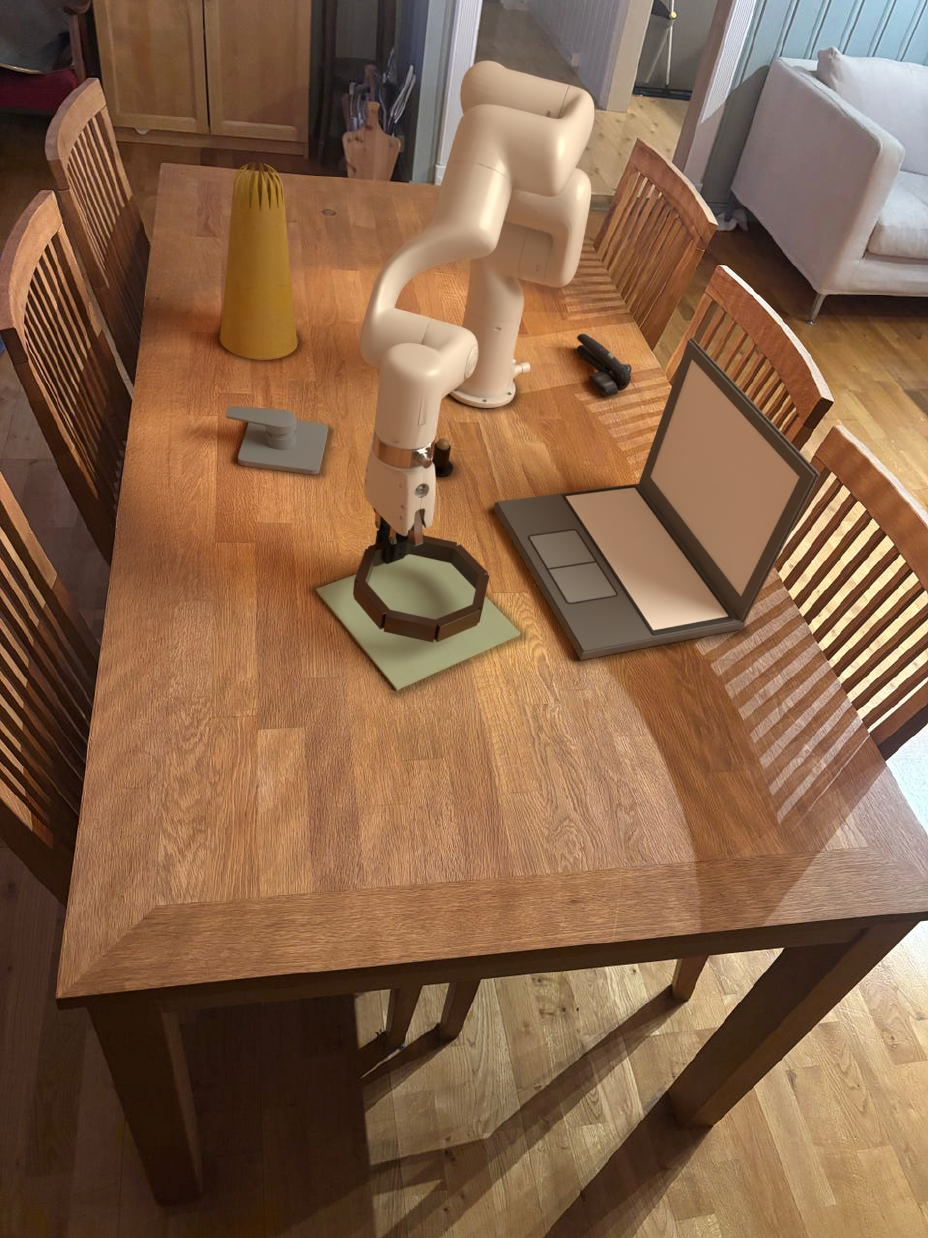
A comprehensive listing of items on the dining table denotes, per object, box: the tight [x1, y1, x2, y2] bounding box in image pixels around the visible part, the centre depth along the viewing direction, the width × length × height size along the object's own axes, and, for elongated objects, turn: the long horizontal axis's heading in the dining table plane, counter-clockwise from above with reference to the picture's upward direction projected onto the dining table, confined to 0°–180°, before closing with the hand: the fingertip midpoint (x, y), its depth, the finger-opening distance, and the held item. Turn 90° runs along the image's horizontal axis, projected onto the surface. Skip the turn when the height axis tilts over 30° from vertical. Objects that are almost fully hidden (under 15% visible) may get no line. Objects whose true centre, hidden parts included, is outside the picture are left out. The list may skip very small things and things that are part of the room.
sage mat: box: [315, 554, 521, 691], centre depth 131 cm, size 20×20×1 cm
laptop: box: [493, 337, 821, 661], centre depth 133 cm, size 32×26×28 cm
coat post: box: [432, 438, 454, 478], centre depth 152 cm, size 4×4×6 cm
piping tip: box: [219, 162, 299, 361], centre depth 162 cm, size 14×14×30 cm
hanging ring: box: [353, 534, 490, 642], centre depth 127 cm, size 17×17×3 cm
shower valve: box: [225, 405, 329, 476], centre depth 150 cm, size 12×6×15 cm
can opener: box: [575, 333, 632, 397], centre depth 179 cm, size 18×7×6 cm, turn 20°
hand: (389, 554), depth 132 cm, fingers closed on hanging ring, 1 cm apart
